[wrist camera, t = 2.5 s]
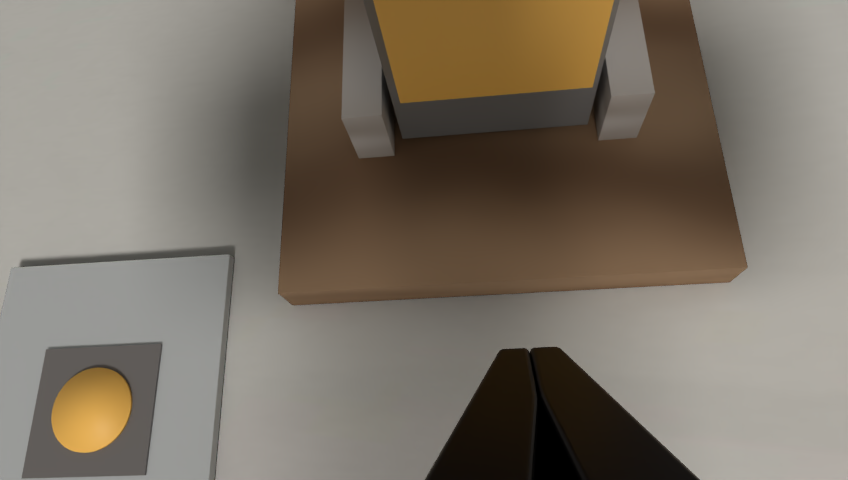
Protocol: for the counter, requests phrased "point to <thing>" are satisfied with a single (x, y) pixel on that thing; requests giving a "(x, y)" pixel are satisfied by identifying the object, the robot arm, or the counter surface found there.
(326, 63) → the wooden block stand
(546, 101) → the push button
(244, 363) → the counter surface
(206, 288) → the pattern card
